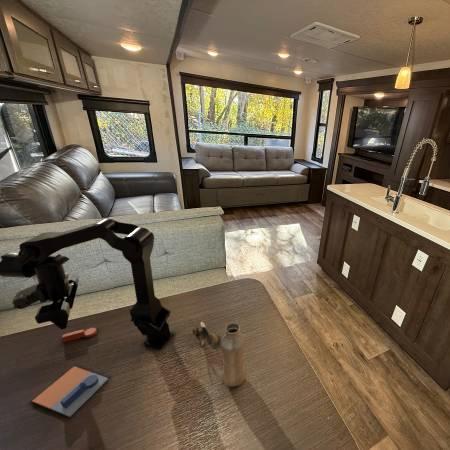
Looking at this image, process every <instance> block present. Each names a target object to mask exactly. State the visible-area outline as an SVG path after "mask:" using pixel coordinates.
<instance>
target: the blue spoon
mask: <svg viewBox="0 0 450 450" xmlns="http://www.w3.org/2000/svg"><path fill="white" fill-rule="evenodd" d="M97 375H98V374H97ZM97 375H91V376H89V377H87V378H86V379H85V380H84V381H83V382H81V383H80V384H79V385H78V386H77V387H76V388H75V389H74V390H72V391H71V392H70V393H69V394H68V395H67V396H66V397H65V398H64V399H62V400H61V401H60V402H61V405H62V407H64V408H67V407H68V406H69V405H71V404H72V403H73V402H74V401H75V400H76V399H77V398H78V397H79V396H80V395H81V394H82V393H83V392H84V391H85V390H86V389H89V388H92V387H93V386H95V385H96V384H97V383H98V377H97Z"/></svg>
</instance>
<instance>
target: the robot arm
mask: <svg viewBox="0 0 450 450" xmlns="http://www.w3.org/2000/svg"><path fill="white" fill-rule="evenodd" d="M116 234H117V235H116ZM118 235H126V236H124V237H120V236H118ZM98 239H99V240H103V241H105V242H106V244H107V245H108V246H110V248H112V249H114V250H117V251H119V252H121V253H122V256H123V258H124V259H125V260H127V262H129V263H130V267H131V274H132V280H133V286H134V293H135V299H136V302H135V303H134V304H133V306H132V307H131V308H130V309H129V315H130V322H132V323H133V325H134V326H135V327H136V328H137V329H138V331H139V332H140V333H141V335H142V336H145V337H146V338H147V339H145V341H143V344H144V345H146V346H149V347H151V348H155V349H158V350H161V349H162V348H163V347H164V346H165V345H166V344H167V343H168V342H169V341H170V340H171V339H172V338H173V337H174V335H175V333H174V332H172V331H170V326H169V323H168V322H167V320H168V319H169V317H170V315H171V312H172V311H171V310H169V309H168V308H166V307H165V306H164V305H162V303H161V300H160V299H159V298H158V297H156V295H155V287H154V279H153V271H152V264H151V256H152V252H153V249H154V244H155V235H154V233H153V232H152V231H151V230H150V229H148V228H146V227H141V226H139V225H136V224H134V223H130V222H129V223H128V222H121V221H118V220H115V219H113V218H104V219H102V220H100V221H97V222H93V223H90V224H86V225H83V226H79V227H76V228H72V229H69V230H65V231H46V232H42V233H40V234H38V235H35V236H33V237H32V238H30V239H27V240H25V241H23V242H21V243H20V244H19V245H18V247H19V252H18V253H16V252H6V253H5V254H3V255H0V259H1V260H0V277H2V278H20V279H21V278H25V279H27V278H28V279H29V278H33V277H34V276H35V277H36V280H37V282H38V283H36V284H33V285H31V286H29V287H26V288H24V289H21V290H20V291H18V292H17V293H16V294H15V296H14V297H13V298H12V303H11V304H12V305H13V308H14V309H18V310H23V309H26V308H27V307H30V306H31V305H33V304H35V303H38V302H39V303H40V304H41V303H46V302H48V301H49V302H51V303H49V304H44V305H41V306H40V308H38V309H37V312H36V314H35V316H34V320H35V322H36V324H44V323H49V322H50V323H52V324H53V325H55V326H56V327H57V328H58V329H60V330H66V329H67V327H68V323H69V318H70V315H71V310H72V309H73V307H74V303H75V300H76V294H77V291H78V287H79V281H80V280H79V276H78V275H75V274H69V272H66V270H65V268H64V267H65V266H64V264H66V263H67V262H68V261H70V258H69V257H68V256H65V255H62V254H60V253H58V254H57V255H53V254H55V253H57V252H59V251H61V250H63V249H66V248H70V247H73V246H77V245H81V244H84V243H88V242H91V241H93V240H98Z"/></svg>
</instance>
